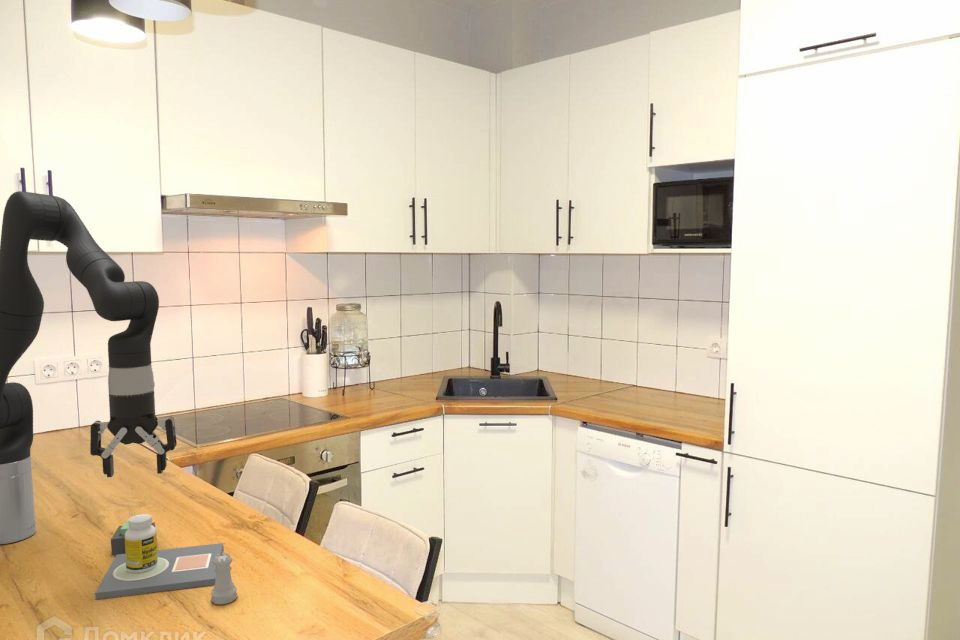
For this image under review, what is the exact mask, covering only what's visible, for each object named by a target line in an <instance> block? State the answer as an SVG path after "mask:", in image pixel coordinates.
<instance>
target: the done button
mask: <svg viewBox="0 0 960 640" xmlns="http://www.w3.org/2000/svg"><path fill="white" fill-rule="evenodd" d="M121 526H122V528H121V529H120V530H121V536H125V533H126V531H127V530H128V529H130V528H129V526H128V521H124V523H123V524H122V525H121Z"/></svg>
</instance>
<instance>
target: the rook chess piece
mask: <svg viewBox="0 0 960 640" xmlns="http://www.w3.org/2000/svg"><path fill="white" fill-rule="evenodd" d="M232 562H233V558H232V557H231V554H230V553H229V552H226V553H225V552H223V553H222V556H220V554H218V555H216V556H215V560H214V561H213V564H214V565H215V566H216V569H215V572H216V581H215V585H213V587H212V590H211V593H210V596H211V598H210V601H211V602H212V603H213V604H214V605H218V606H223V605H227V604H231V603H233V602H234V601H235V600H236V598H237V597H238V592H237V590H238V589H237V587H236V585H235V584H234V582H233V579H232V576H231V575H232V573H231V570H232V567H231V564H232Z"/></svg>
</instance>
